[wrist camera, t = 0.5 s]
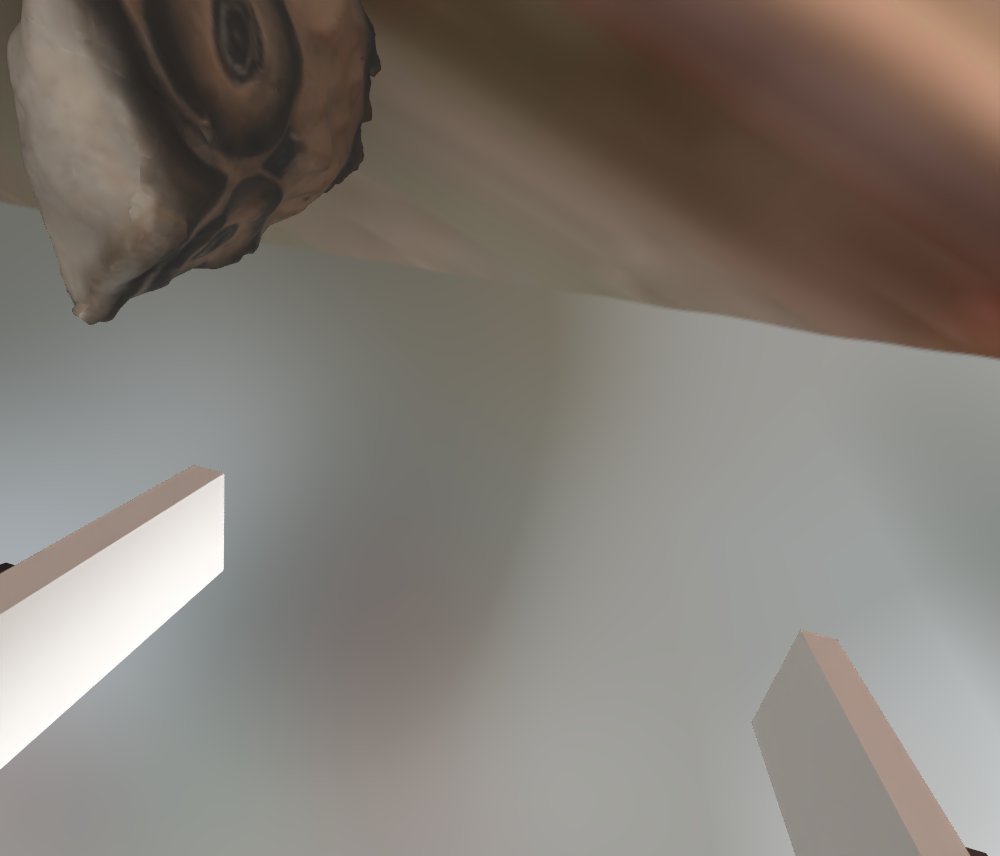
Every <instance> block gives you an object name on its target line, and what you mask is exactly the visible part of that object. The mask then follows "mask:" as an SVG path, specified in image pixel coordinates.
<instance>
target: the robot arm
mask: <svg viewBox="0 0 1000 856" xmlns="http://www.w3.org/2000/svg"><path fill="white" fill-rule="evenodd" d="M223 568H224V473H222V472H218V471H215V470H211V469H207V468H204V467H200V466H196V465H193V466H191V467H189V468H188V469H186V470H184V471H182V472H180V473H179V474H177V475H175V476H173V477H172V478H170V479H168V480H166V481H165V482H163V483H161V484H159V485H157V486H156V487H154V488H152V489H150V490H148V491H147V492H145V493H143V494H141V495H140V496H138V497H136V498H134V499H132V500H131V501H129V502H127V503H125V504H123V505H122V506H120V507H118V508H117V509H114V510H113V511H111V512H109V513H107V514H106V515H104V516H102V517H100V518H98V519H97V520H95V521H93V522H92V523H90V524H88V525H86V526H84V527H82V528H81V529H79V530H77V531H75V532H74V533H72V534H70V535H68V536H66V537H65V538H63V539H61V540H59V541H57V542H56V543H54V544H52V545H50V546H49V547H47V548H45V549H43V550H42V551H40V552H38V553H36V554H34V555H33V556H31V557H29V558H27V559H25V560H24V561H22V562H20V563H18V564H17V565H12V564H9V563H4V564H1V565H0V769H1V768H2V767H3V766H4V765H6V764H7V763H8V762H9V761H10V760H11V759H12V758H13V757H14V756H16V755H17V754H18V753H19V752H20V751H21V750H22V749H23V748H25V747H26V746H27V745H28V744H29V743H30V742H31V741H32V740H34V739H35V738H36V737H37V736H38V735H39V734H40V733H41V732H43V731H44V730H45V729H46V728H47V727H48V726H49V725H50V724H52V723H53V722H54V721H55V720H56V719H57V718H58V717H59V716H60V715H62V714H63V713H64V712H65V711H66V710H67V709H68V708H69V707H71V706H72V705H73V704H74V703H75V702H76V701H77V700H78V699H80V698H81V697H82V696H83V695H84V694H85V693H86V692H87V691H88V690H90V688H92V687H93V686H94V685H95V684H96V683H97V682H99V681H100V680H101V679H102V678H103V677H104V676H105V675H106V674H108V673H109V672H110V671H111V670H112V669H113V668H114V667H115V666H117V665H118V664H119V663H120V662H121V661H122V660H123V659H124V658H126V657H127V656H128V655H129V654H130V653H131V652H132V651H133V650H134V649H136V648H137V647H138V646H139V645H140V644H141V643H142V642H143V641H145V640H146V639H147V638H148V637H149V636H150V635H151V634H152V633H154V632H155V631H156V630H157V629H158V628H159V627H160V626H161V625H163V624H164V623H165V622H166V621H167V620H168V619H169V618H170V617H171V616H173V615H174V614H175V613H176V612H177V611H178V610H179V609H180V608H181V607H183V606H184V605H185V604H186V603H187V602H188V601H189V600H191V599H192V598H193V597H194V596H195V595H196V594H197V593H198V592H199V591H201V590H202V589H203V588H204V587H205V586H206V585H207V584H208V583H209V582H211V581H212V580H213V579H214V578H215V577H216V576H217V575H219V574H220V573H221V572H222V571H223V570H224V569H223ZM752 726H753V729H754V732H755V735H756V738H757V741H758V744H759V747H760V749H761V753H762V756H763V759H764V762H765V765H766V768H767V771H768V774H769V777H770V780H771V783H772V786H773V789H774V792H775V795H776V798H777V801H778V804H779V807H780V810H781V813H782V816H783V819H784V822H785V825H786V828H787V831H788V834H789V837H790V840H791V843H792V846H793V849H794V852H795V855H796V856H988V855H987V854H986V853H983V852H980V851H976V850H973V849H970V848H967V847H965V846H964V844H963V843H962V841H961V839H960V838H959V836H958V835H957V833H956V831H955V830H954V828H953V827H952V825H951V823H950V822H949V820H948V818H947V817H946V815H945V814H944V812H943V810H942V809H941V807H940V805H939V804H938V802H937V801H936V799H935V797H934V796H933V794H932V792H931V791H930V789H929V787H928V786H927V784H926V783H925V781H924V779H923V778H922V776H921V775H920V773H919V771H918V770H917V768H916V767H915V765H914V763H913V762H912V760H911V758H910V757H909V755H908V754H907V752H906V750H905V749H904V747H903V745H902V744H901V742H900V740H899V739H898V737H897V736H896V734H895V732H894V731H893V729H892V727H891V726H890V724H889V723H888V721H887V719H886V718H885V716H884V715H883V713H882V711H881V710H880V708H879V706H878V705H877V703H876V702H875V700H874V698H873V697H872V695H871V693H870V692H869V690H868V688H867V687H866V685H865V684H864V682H863V680H862V679H861V677H860V676H859V674H858V672H857V671H856V669H855V668H854V666H853V665H852V663H851V661H850V659H849V658H848V656H847V654H846V653H845V651H844V650H843V648H842V646H841V645H840V643H839V641H838V640H836V639H833V638H829V637H825V636H821V635H818V634H814V633H810V632H807V631H803V630H800V631H799V633H798V635H797V637H796V639H795V641H794V643H793V645H792V646H791V649H790V650H789V652H788V654H787V656H786V658H785V660H784V662H783V664H782V665H781V668H780V669H779V671H778V673H777V675H776V677H775V679H774V681H773V683H772V684H771V686H770V688H769V690H768V692H767V694H766V696H765V698H764V700H763V702H762V703H761V705H760V707H759V709H758V711H757V713H756V715H755V717H754V719H753V721H752Z"/></svg>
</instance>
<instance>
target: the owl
mask: <svg viewBox="0 0 1000 856" xmlns="http://www.w3.org/2000/svg"><path fill="white" fill-rule="evenodd" d="M7 62H8V68H9V74H10V82H11V86H12V89H13V92H14V98H15V108H16V113H17V118H18V124H19V134H20V150H21V155H22V159H23V163H24V167H25V170H26V173H27V176H28V178H29V181H30V183H31V186H32V189H33V193H34V196H35V199H36V202H37V205H38V207H39V210H40V213H41V215H42V218H43V222H44V225H45V227H46V230H47V232H48V234H49V236H50V239H51V241H52V244H53V248H54V251H55V254H56V257H57V259H58V262H59V266H60V272H61V276H62V278H63V280H64V283H65V285H66V288H67V292H68V293H69V294H70V296H71V298H72V300H73V302H74V304H75V306H74V308H73V309H72V312H73V314H74V315H75V316H77V317H78V318H80V319H82V320H84V321H85V322H86V323H87V324H89V325H92V324H95V323H97V322H99V321H100V322H107V321H110V320H112V319H113V318H114V317H115V315H116V314H117V312H118V311H119V309H120V308H121V307H122V306H123V305H124V304H125V303H126V302H127V301H128V300H129V299H131V298H133V297H136V296H138V295H141V294H144V293H146V292H149V291H154V290H157V289H159V288H162V287H164V286H166V285H168V284H169V282H170V281H171V280H172V279H173V278H174V277H176V276H178V275H180V274H183V273H185V272H187V271H189V270H191V269H193V268H195V269H196V268H199V269H200V268H203V269H206V268H209V269H217V268H221V267H224V266H227V265H230V264H233V263H237V262H239V261H240V260H241V258H242V257H243V255H245V254H248V253H249V254H253V253H254V252H255V251H256V249H257V248H258V246H259V243H260V239H261V236H262V234H263V233H264V232H265V230H266V229H267V228H268V227H269V226H270V225H272V224H274V223H277V222H279V221H282V220H284V219H286V218H289V217H291V216H293V215H296V214H298V213H300V212H301V211H303V210H304V209H305V208H306V207H307V206H308V205H309V204H310V203H312V202H313V201H314V200H316V199H317V198H318V197H320V196H321V195H322V194H323V193H326V192H328V191H330V190H331V188H332V187H334V185H335V184H340V183H341V182H342V181H343V180H344V179H345V178H346V177H347V176H348V175H349V174H350V173H352V172H353V171H355V170H358V167H359V164H360V163H361V162H362V161H363V157H364V153H363V146H362V142H361V124H362V123H363V122H367V121H370V120H372V108H371V104H370V100H369V92H370V86H371V79H370V75H371V76H373V77H374V76H375V75H376V74H377V73H378V72H379V71H380V70H381V65H380V59H379V57H378V55H377V52H376V46H375V32H374V28H373V25H372V23H371V22H370V20H369V18H368V17H367V15H366V13H365V11H364V9H363V7H362V4H361V1H360V0H23V2H22V14H21V21H20V22H19V23H18V24H17V26H16V27H15V29H14V30H13V32H12V33H11V35H10V38H9V41H8V45H7Z"/></svg>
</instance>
